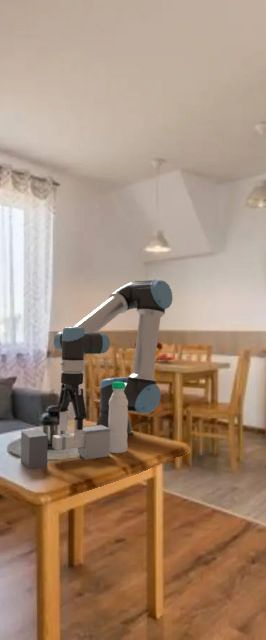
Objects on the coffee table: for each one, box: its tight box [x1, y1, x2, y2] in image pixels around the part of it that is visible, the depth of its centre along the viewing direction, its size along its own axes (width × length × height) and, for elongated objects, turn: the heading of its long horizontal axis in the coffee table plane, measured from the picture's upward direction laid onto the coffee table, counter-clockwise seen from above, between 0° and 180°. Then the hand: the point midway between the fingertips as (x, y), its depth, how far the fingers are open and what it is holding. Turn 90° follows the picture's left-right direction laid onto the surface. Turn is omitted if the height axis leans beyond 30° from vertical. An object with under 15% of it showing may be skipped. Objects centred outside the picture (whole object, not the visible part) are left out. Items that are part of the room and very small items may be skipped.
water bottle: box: [108, 382, 129, 454], centre depth 168 cm, size 7×7×25 cm
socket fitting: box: [20, 429, 49, 470], centre depth 152 cm, size 6×9×10 cm, turn 30°
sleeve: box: [77, 424, 111, 460], centre depth 162 cm, size 9×7×10 cm
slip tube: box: [51, 432, 85, 451], centre depth 160 cm, size 19×4×4 cm, turn 120°
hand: (70, 434), depth 158 cm, fingers open, 13 cm apart
